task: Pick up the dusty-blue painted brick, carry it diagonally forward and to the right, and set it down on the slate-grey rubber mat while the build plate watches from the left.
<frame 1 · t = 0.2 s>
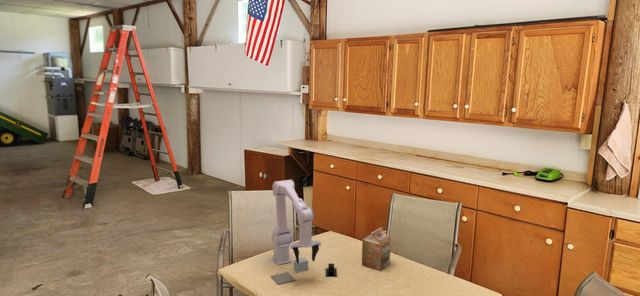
hand: (305, 261, 204), 10 cm above the table, fingers open, 7 cm apart
mat: (283, 278, 208), on the table
brick: (300, 269, 218), on the table
milk carton: (375, 265, 224), on the table
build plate: (331, 273, 215), on the table
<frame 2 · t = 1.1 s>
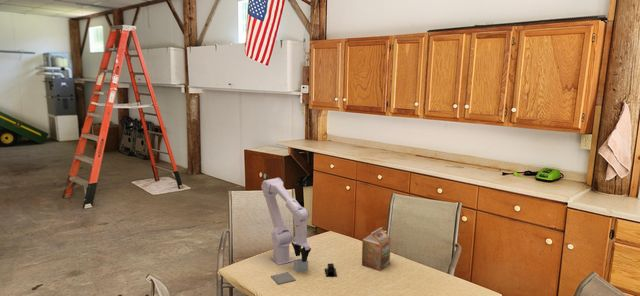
hand: (301, 258, 216), 6 cm above the table, fingers open, 7 cm apart
nothing on the table moved.
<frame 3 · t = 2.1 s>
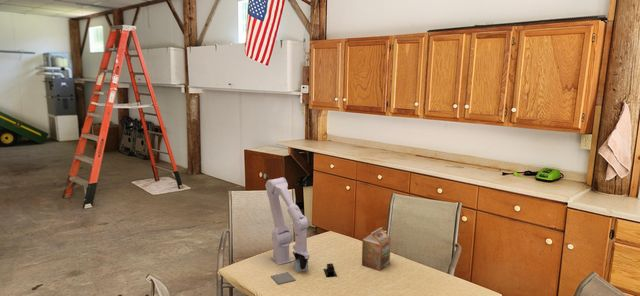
hand: (300, 266, 217), 1 cm above the table, fingers closed on brick, 4 cm apart
brick: (300, 269, 218), on the table, touching gripper
everything else where it was.
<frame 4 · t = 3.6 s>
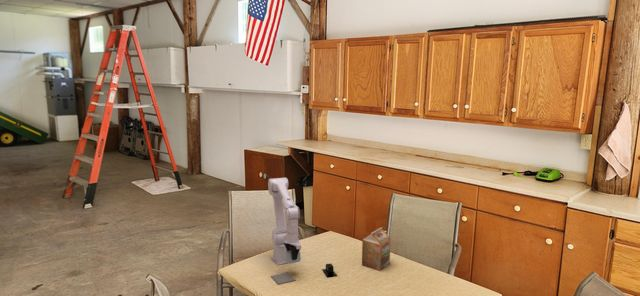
hand: (292, 258, 211), 8 cm above the table, fingers closed on brick, 4 cm apart
brick: (293, 261, 211), point 7 cm above the table, touching gripper
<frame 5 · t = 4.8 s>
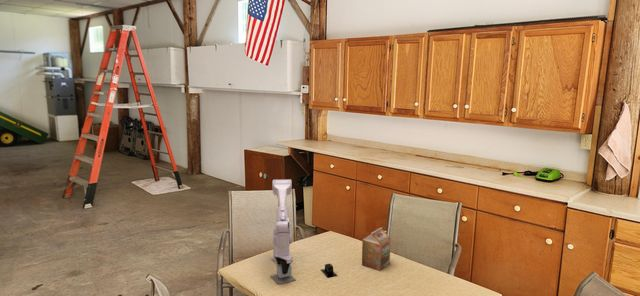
hand: (283, 271, 207), 4 cm above the table, fingers closed on brick, 4 cm apart
brick: (284, 275, 207), point 2 cm above the table, touching gripper
when the fingers open (3 cm above the table, at t = 5.4 s): brick stays where it is, resting on mat.
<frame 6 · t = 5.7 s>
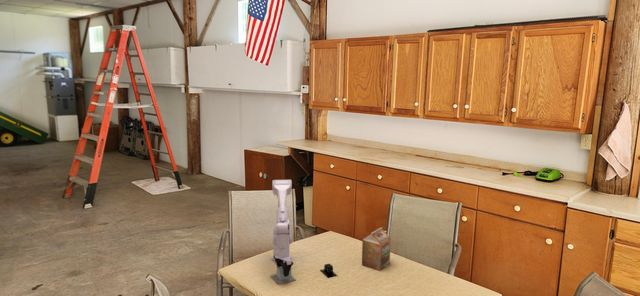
hand: (283, 273, 207), 3 cm above the table, fingers open, 7 cm apart
brick: (284, 277, 208), point 1 cm above the table, touching mat
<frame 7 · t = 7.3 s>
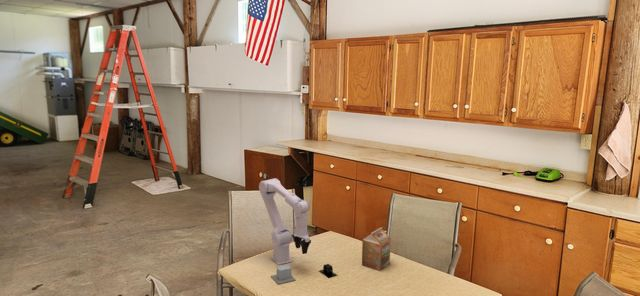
hand: (301, 250, 216), 10 cm above the table, fingers open, 7 cm apart
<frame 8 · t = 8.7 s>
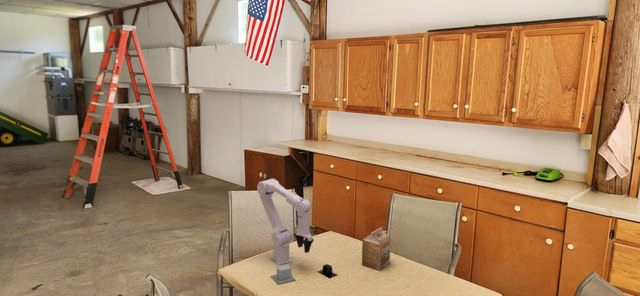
hand: (303, 249, 218), 10 cm above the table, fingers open, 7 cm apart
at the end: brick inside the target area on the mat (0.4 cm from its centre), point 0.6 cm above the mat's base; brick tilted 0°; the gripper is holding nothing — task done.
